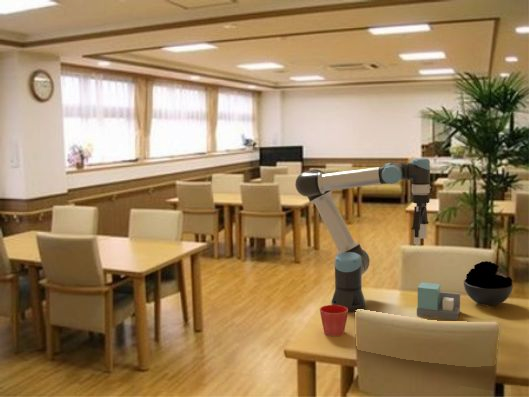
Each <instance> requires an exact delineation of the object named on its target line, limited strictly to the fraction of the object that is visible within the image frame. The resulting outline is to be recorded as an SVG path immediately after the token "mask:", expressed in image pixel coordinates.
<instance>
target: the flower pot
mask: <svg viewBox="0 0 529 397" xmlns="http://www.w3.org/2000/svg"><path fill="white" fill-rule="evenodd" d="M319 312H320V318H321V324H322V329H323V333H324V334H325V335H327V336H330V337H340V336H343V335H344V334H345V331H346V330H345V329H346V325H347V320H348V314H349V312H348V308H346V307H344V306H340V305H331V304H327V305H323V306H321V307H320V308H319Z"/></svg>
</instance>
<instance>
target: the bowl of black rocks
mask: <svg viewBox="0 0 529 397" xmlns="http://www.w3.org/2000/svg"><path fill="white" fill-rule="evenodd" d="M499 268H500V266H499V265H498V264H496V263H495V262H492V261H488V260H484V261H480V262H478V263H476V264H474V265H473V268H471V269H470V270H469V271H468V273H467V274H466V276H465V279H464V280H463V287H464V291H465V292H466V294H467V296H468V297H469V298H470V299H471V300H472V301H473V302H475V303H477V304H479V305H481V306H485V307H486V306H487V307H489V306H490V307H493V306H498V305H500V304H502V303H504V302H505V301H506V300H507V299H509V297H510V295H512V291H513V287H514V284H513V280H512V277H510V276H506V277H505V276H503V275H500V274H497V272H498V270H499Z"/></svg>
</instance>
